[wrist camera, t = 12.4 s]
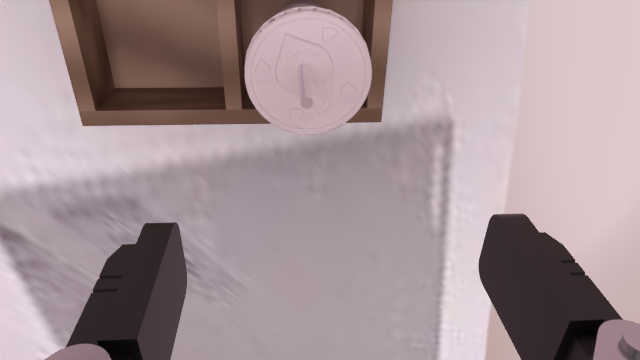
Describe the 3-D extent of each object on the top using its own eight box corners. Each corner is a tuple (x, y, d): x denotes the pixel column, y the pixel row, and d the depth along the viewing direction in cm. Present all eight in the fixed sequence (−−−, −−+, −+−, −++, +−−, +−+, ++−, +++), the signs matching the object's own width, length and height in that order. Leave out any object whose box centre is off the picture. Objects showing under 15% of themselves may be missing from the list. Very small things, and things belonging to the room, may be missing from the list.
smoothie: (326, -44, 29) (353, 5, 17) (365, 49, 32) (411, 144, 20) (236, 5, 30) (203, 81, 18) (283, 89, 33) (281, 200, 21)
